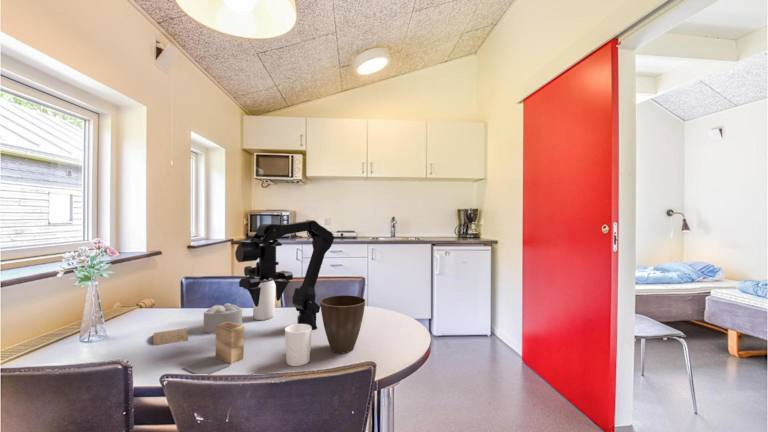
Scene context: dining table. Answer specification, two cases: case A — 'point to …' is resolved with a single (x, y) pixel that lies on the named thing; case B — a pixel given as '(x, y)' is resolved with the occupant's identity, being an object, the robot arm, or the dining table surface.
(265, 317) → the alcohol
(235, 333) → the oak block
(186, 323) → the dining table surface
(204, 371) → the felt mat
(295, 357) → the white cup
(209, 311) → the lumpy-topped squat cylinder
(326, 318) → the plant pot
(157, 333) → the clay tablet
